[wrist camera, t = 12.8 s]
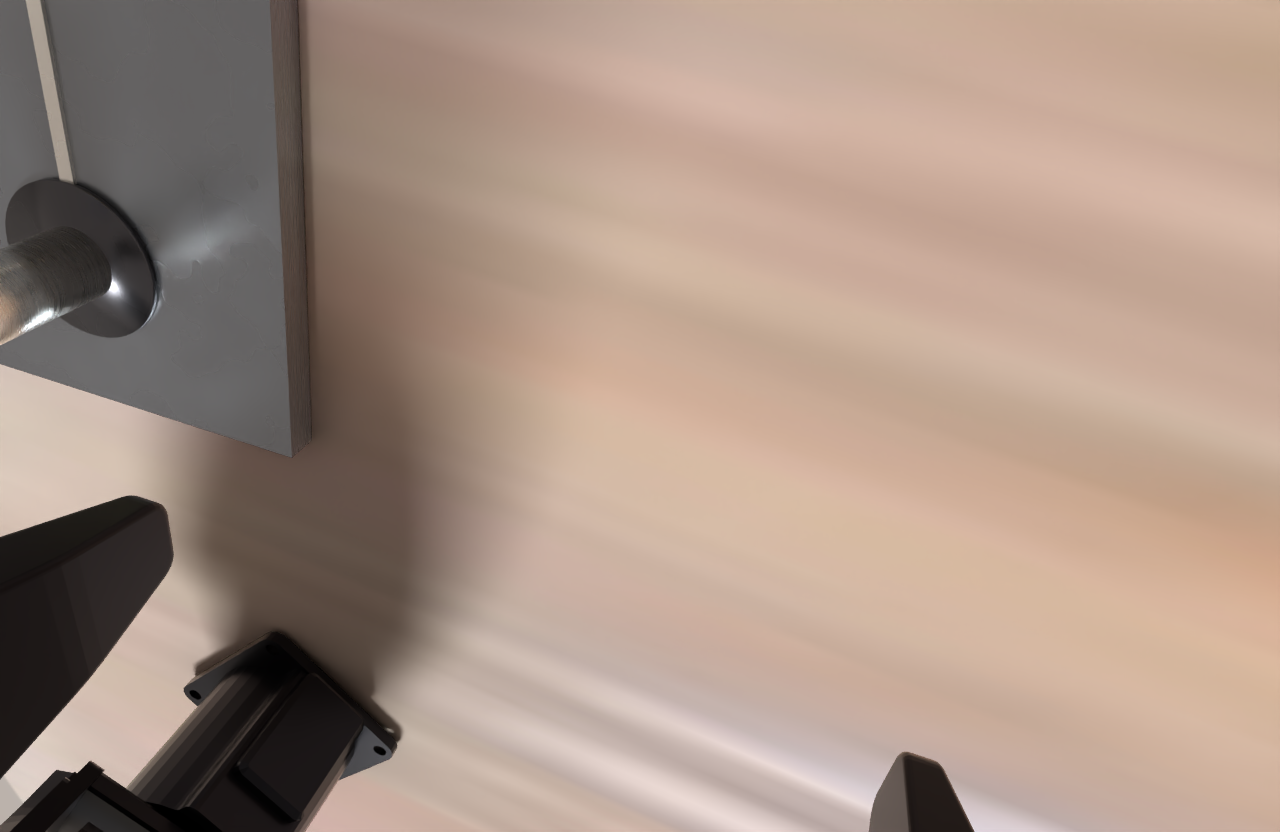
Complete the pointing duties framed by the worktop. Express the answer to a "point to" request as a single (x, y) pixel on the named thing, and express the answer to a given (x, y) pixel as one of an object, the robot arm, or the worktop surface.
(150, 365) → the plate
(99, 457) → the worktop surface
